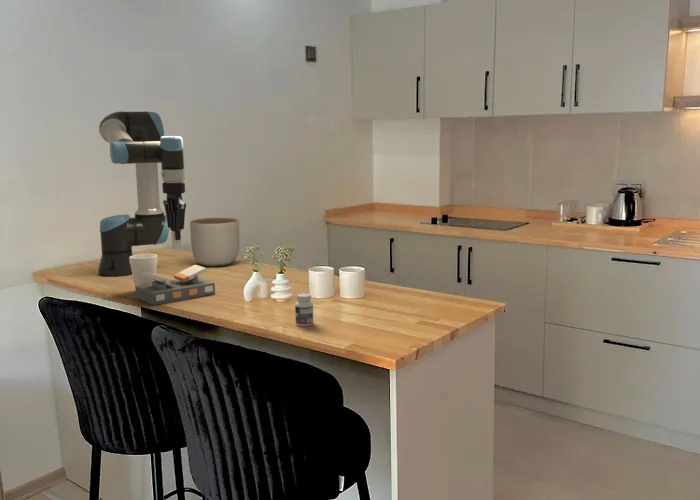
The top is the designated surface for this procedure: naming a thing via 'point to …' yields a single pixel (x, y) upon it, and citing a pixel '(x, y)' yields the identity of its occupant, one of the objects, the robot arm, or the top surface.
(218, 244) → the planter
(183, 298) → the switch unit
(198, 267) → the panel
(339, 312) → the top surface
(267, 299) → the top surface
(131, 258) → the foam cup
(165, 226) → the robot arm
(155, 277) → the block
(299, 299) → the pill bottle
